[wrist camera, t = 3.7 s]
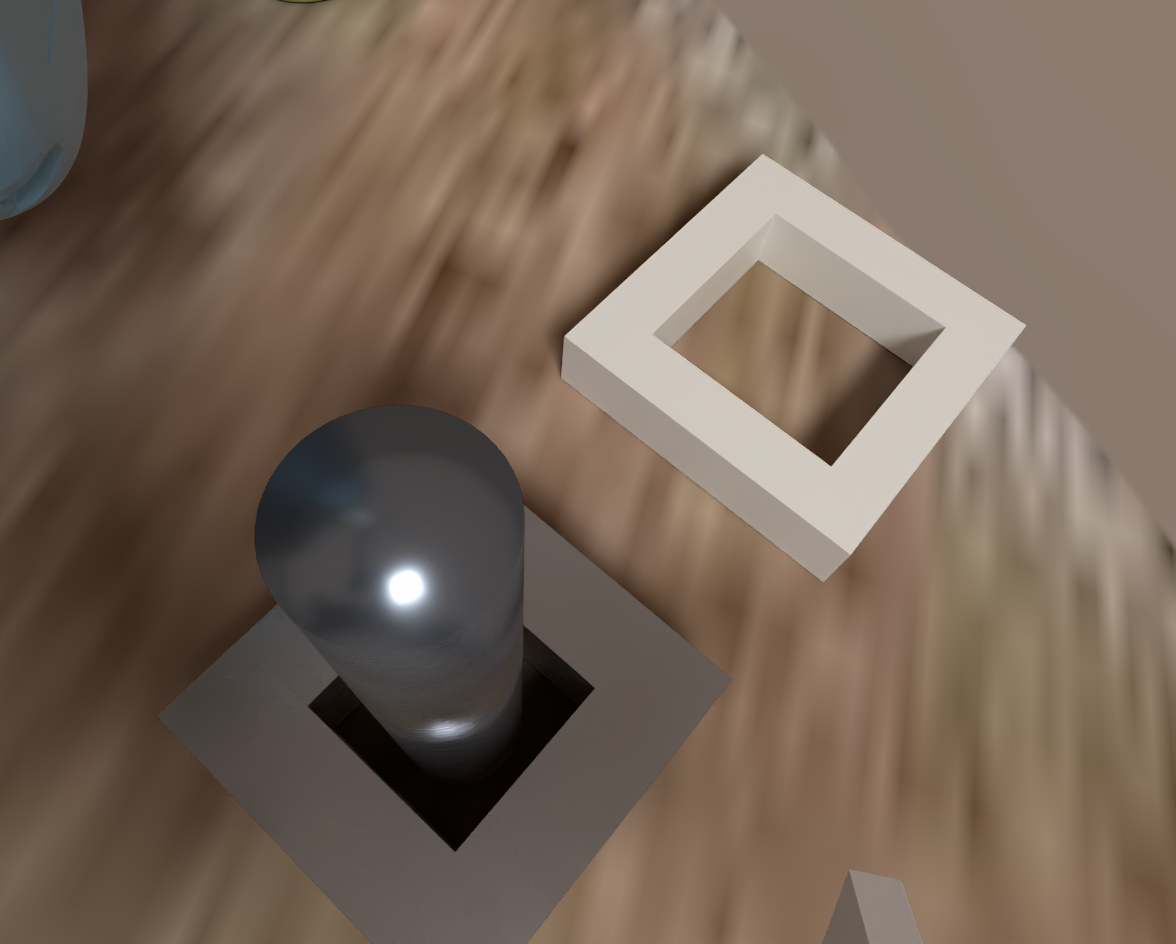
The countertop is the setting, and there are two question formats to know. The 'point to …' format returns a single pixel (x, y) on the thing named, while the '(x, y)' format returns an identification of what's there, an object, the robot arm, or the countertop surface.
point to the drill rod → (407, 577)
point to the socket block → (521, 817)
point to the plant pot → (301, 0)
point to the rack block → (735, 430)
